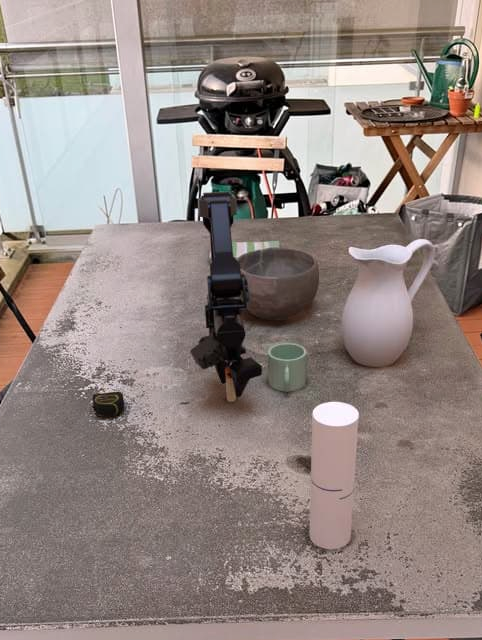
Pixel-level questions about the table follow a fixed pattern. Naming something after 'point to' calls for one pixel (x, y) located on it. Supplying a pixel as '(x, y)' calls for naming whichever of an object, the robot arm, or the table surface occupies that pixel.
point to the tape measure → (108, 403)
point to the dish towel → (249, 247)
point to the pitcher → (382, 303)
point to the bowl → (279, 281)
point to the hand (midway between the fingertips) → (230, 390)
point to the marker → (230, 387)
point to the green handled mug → (287, 367)
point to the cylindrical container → (332, 473)
